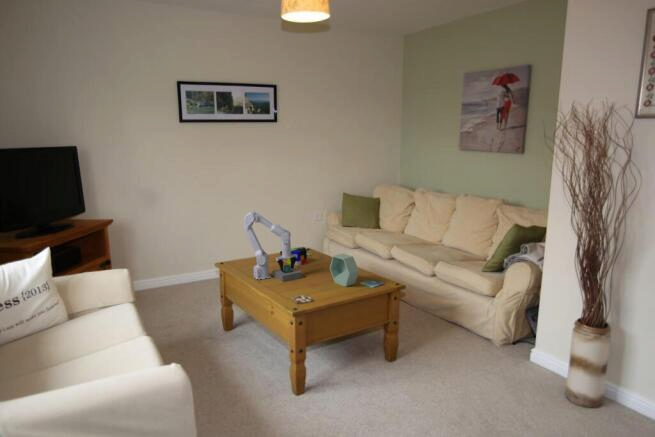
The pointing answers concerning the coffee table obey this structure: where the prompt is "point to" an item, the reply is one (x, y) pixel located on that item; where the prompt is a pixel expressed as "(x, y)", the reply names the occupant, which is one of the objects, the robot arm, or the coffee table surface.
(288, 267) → the teal peg
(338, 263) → the planter
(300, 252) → the puzzle toy
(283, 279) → the well block
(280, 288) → the coffee table surface
